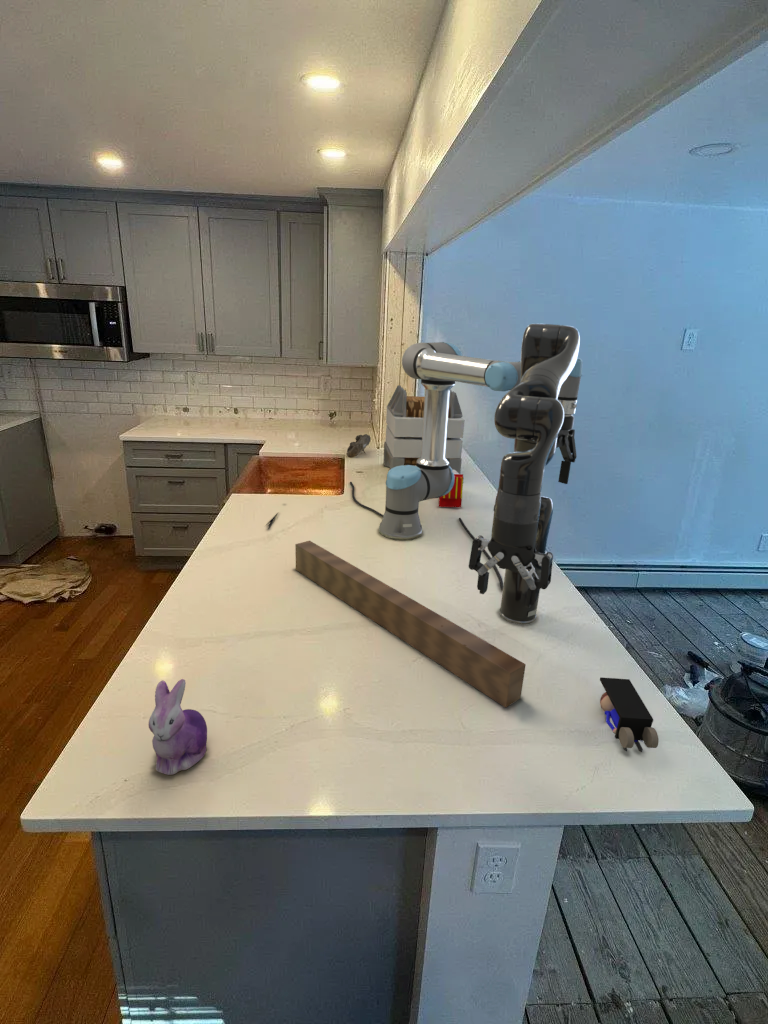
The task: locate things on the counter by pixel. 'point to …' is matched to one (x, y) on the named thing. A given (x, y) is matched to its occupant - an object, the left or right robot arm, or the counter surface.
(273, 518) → the feather
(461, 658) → the beam
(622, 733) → the figurine character
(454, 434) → the transformer
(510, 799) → the counter surface
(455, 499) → the red striped box
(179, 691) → the figurine
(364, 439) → the fossil
